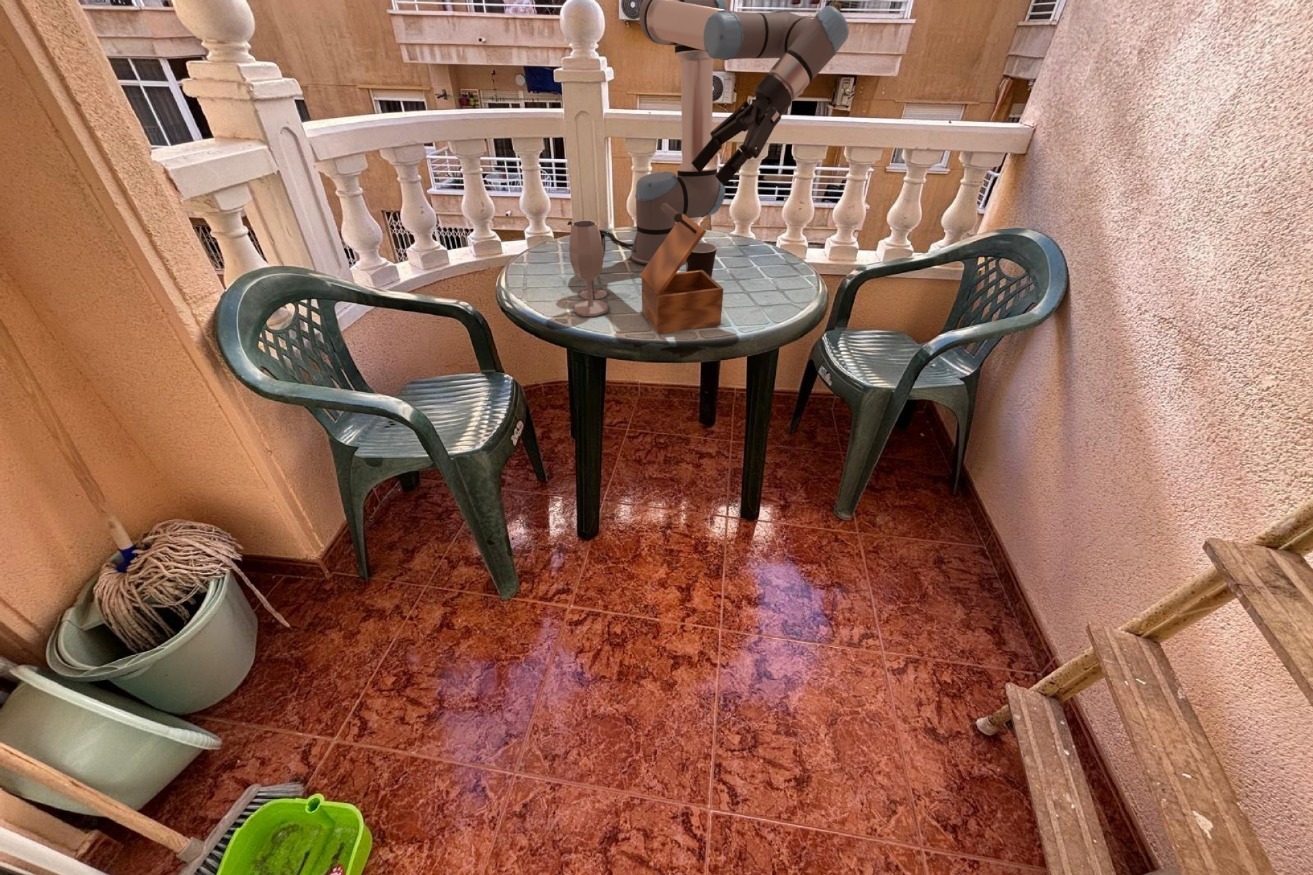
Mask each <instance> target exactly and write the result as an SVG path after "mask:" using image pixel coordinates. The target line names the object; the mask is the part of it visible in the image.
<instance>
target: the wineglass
mask: <svg viewBox="0 0 1313 875" xmlns="http://www.w3.org/2000/svg"><path fill="white" fill-rule="evenodd" d="M571 222H572V226H571V225H570V232H569V250H568V252H569V260H570V264H571V267H572V270H573V273H574V274H575V275H577V276H578V277H579V278H580V279H581V280H583V281H584V282H585V285H586V290H587V299H585V300H583V301H580V302H577V303H575V304H574V310H573V312H574V313H575V314H577V315H579V316H581V317H597V316H600V315H603V314H605V313H608V311H609V310H608V304H607V303H606V302H603V301H602V300H599V299H593V294H592V281H593V280H594V281H595V280H596V279H597V277H599V276H600V275H601V274H602V271H603V266H604V259H603V246H602V241H601V236H600V231H599V230H600V229H599V228H600V227H599V226H598V223H597V221H595V220H592V219H580V220H574V221H571Z"/></svg>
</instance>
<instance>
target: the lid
mask: <svg viewBox="0 0 1313 875" xmlns="http://www.w3.org/2000/svg"><path fill="white" fill-rule="evenodd" d="M661 210H662V211H663V212H664V213H665V214H667V215H668V216H669V217H670V218H672V219H673V220H674V221H675V222H676V224H675V226H674V227H673V228H672V230H671V231H670V233H669V234H668V236H667V237H666V238H665V240H664V241H663V243H662V244H661V246H660V247H659V248H658V250H657V251H656V253H655V254H654V256H653V257H652V258H651V260H650V261H649V263H648V264H647V265H645V267H644V268H643V269H642V271H641V273H640V276H641V278H642V277H643V278H644V279H645V281H646V282H647V283H648V284H649V285H650V287H651V288H652V289H653V290H654V291H655V293H656V294H657V295H659V296H660V295H661V293H662V292H663V291H664V289H665V288H666V286H667V285H668V284H669V282H670V281H671V280H672V278H673V277H674V275H675V274H676V273H678V271H679V270H680V269H681V267H682V266H683V264H684V263H686V259H687V258H688V256H689V255H690V253H691V252H692V251H693V249H694V248H695V247H696V245H697V244H698V242H701V240H702V238H703V237H704V235H705V234H706V233H707V230H706V229H705V228H703V227H702V226H701V225H699V224H698V223H697V222H695V221H694V220H693V219H692V218H688V217H687V216H686V215H684V214H682V215H681V214H680V213H679V212H677V211H676V210H675V209H673V208H672V207H671V206H669V205H668V204H667V203H663V204H662V205H661Z"/></svg>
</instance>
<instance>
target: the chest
mask: <svg viewBox="0 0 1313 875" xmlns="http://www.w3.org/2000/svg"><path fill="white" fill-rule="evenodd" d="M723 298H724V287H722V286H721V285H720V284H719V283H718V282H717V281H716V280H714V279H713V277H710V276H709V275H708V274H707V273H705V272H704V271H703V270H697V271H689V272H686V271H682V272H677V273H676V274H675V275H674V277H673V278H672V280H671V281H670V282H669V284H668V285H667V286H666V288H665V289H664V291H663V292H662V293H661V295H660V296H659V295H657V294H656V293H655V291H654V290H653V289H652V288H651V287H650V285H649V284H648V283H647V282H646V281H645V279H644V278H643V277H642V276H641V312H642V313H643V316H645V319H647V320H648V322H649V324H650V325H651V326H652V328H653V329H654V330H655V332H656V333H657V334H658V335H660V334H666V333H673V332H679V331H686V330H687V331H688V330H693V329H700V328H707V327H713V326H714V327H715V326H719V325H721V324H722V313H723Z"/></svg>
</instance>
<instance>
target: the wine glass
mask: <svg viewBox="0 0 1313 875" xmlns="http://www.w3.org/2000/svg"><path fill="white" fill-rule="evenodd" d="M600 236H601V241H602V246H603V260H604V258H605V254H606V234H603V233H600ZM592 294H593V300H599V299H602V298H605V297H606V296H607V294H608V292H607V291H606V290H604V289H601V288H595V279H594V280H593V281H592ZM579 296H580V297H581V298H583V299H585V300H588V299H587V289H584V290H582V291H581V292H580V293H579Z"/></svg>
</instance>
